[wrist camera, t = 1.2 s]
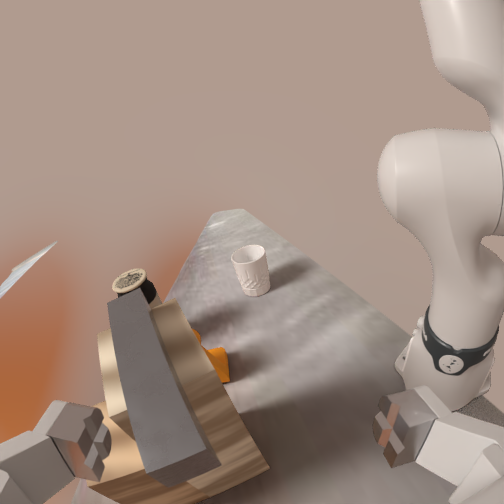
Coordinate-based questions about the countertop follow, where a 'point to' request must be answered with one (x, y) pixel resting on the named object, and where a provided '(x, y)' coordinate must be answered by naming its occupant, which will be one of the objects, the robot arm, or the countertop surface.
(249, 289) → the white cup
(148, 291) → the travel mug
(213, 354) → the bracket
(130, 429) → the step stand
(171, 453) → the block
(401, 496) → the countertop surface
